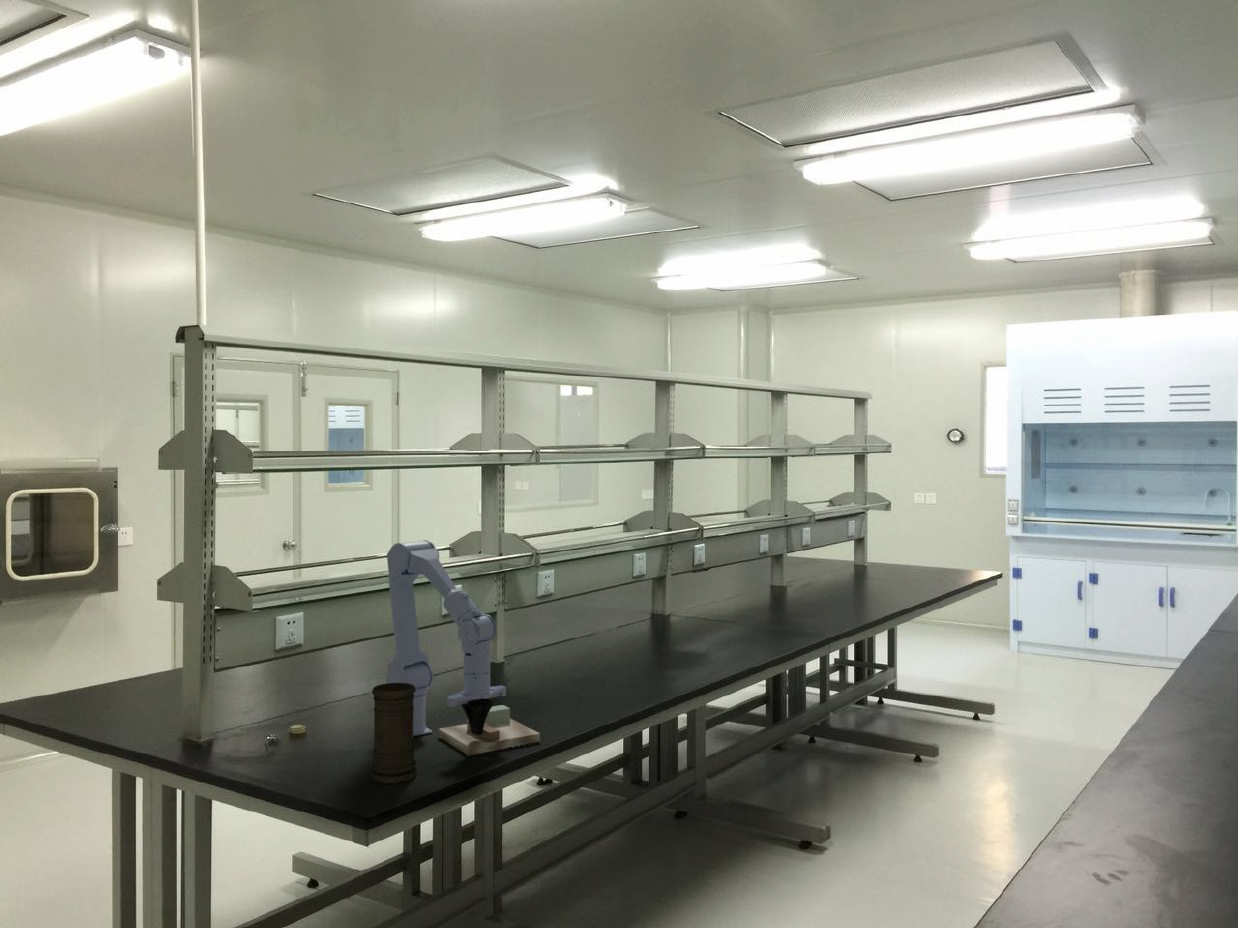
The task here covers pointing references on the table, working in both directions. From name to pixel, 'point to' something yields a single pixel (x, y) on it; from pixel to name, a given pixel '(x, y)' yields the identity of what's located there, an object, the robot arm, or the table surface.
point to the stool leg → (487, 732)
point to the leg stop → (498, 715)
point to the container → (393, 733)
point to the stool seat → (474, 744)
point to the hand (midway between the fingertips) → (476, 733)
